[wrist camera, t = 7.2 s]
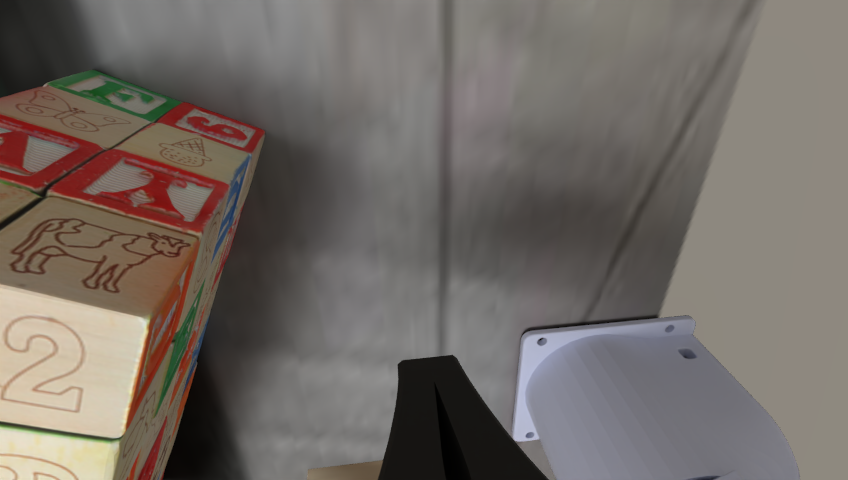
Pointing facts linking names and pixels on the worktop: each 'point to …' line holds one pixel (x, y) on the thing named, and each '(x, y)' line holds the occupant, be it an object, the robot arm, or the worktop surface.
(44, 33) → the worktop surface
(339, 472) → the plain maple block
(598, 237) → the worktop surface
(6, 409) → the stack of blocks
